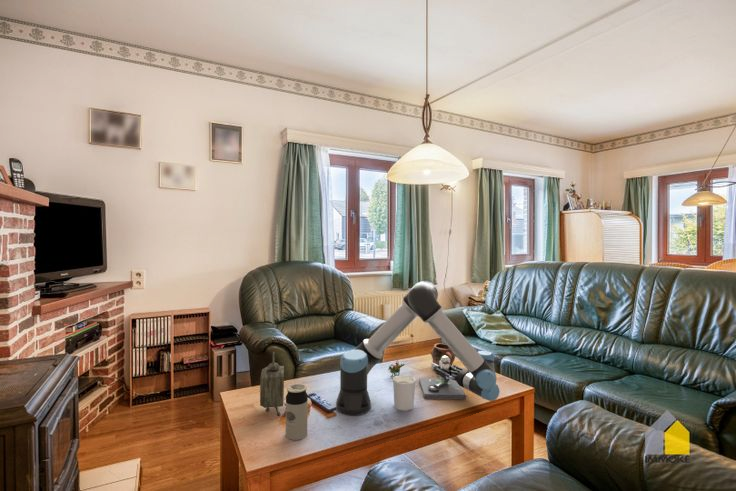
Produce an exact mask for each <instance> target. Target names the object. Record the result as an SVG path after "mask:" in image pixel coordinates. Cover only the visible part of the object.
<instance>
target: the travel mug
mask: <svg viewBox="0 0 736 491" xmlns="http://www.w3.org/2000/svg"><path fill="white" fill-rule="evenodd" d="M307 389H308V386H307V384H304V383H291V384H289V385H288V386H286V391H287V393H286V394H285V437H286V439H289V440H292V441H298V440H302V439H304V438H305V437H306V436H307V435H308V410H309V409H308V406H309V405H308V403H309V402H308V398H309V396H308V393H307Z"/></svg>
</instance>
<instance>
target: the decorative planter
mask: <svg viewBox="0 0 736 491" xmlns="http://www.w3.org/2000/svg"><path fill="white" fill-rule="evenodd" d="M430 355H431V358H432V362H433V363H435V364H437V365H439V361H441V357H442V356H448V357H449V358H450V363H449V365H452V366H453V365H454V362H455V359H456V355H455V354H454V353H453V352H452V350H451V349H450V348H449V347H448V346H447V345H446V343H441V342H439V343H435V344H433V348H432V349H431V350H430ZM432 362H431V363H432ZM432 370H433V371H434V372H436V370H434V369H432Z"/></svg>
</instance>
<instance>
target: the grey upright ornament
mask: <svg viewBox="0 0 736 491" xmlns="http://www.w3.org/2000/svg"><path fill="white" fill-rule="evenodd" d="M259 381H260V382H259V397H260V398H259V401H260V404H259V406H260V407H263V408H264V409H265V411H266V412H267V413H268V412H270V408H274V409H275V411H276V416H277V417H280V416H281V412H279V408H281V407H284V399H285V398H284V395H285V393H284V392H285V365H279V363H278V362H276V358H275V351H273V352H272V361H271V362H270V363H269V364H268V365H267V366H265V367H264V368H261V373H260V380H259Z"/></svg>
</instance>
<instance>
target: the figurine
mask: <svg viewBox="0 0 736 491" xmlns="http://www.w3.org/2000/svg"><path fill="white" fill-rule="evenodd" d="M399 363H400V362H399V360H398V359H397V360H396V361H395V364H393V363H391V365H389V367H388V369H387V370H388V371H389V373H390V374H391V377H395V376H398V375H401V374H400V371H401V368H402V367H404V366H406V364H404V363H400V364H399Z"/></svg>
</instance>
